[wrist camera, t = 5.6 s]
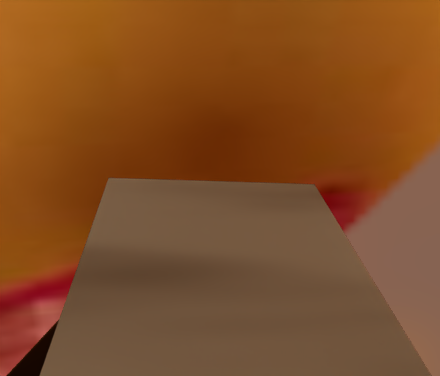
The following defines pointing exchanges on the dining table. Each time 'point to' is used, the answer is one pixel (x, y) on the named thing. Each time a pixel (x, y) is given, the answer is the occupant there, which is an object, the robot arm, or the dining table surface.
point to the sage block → (223, 288)
